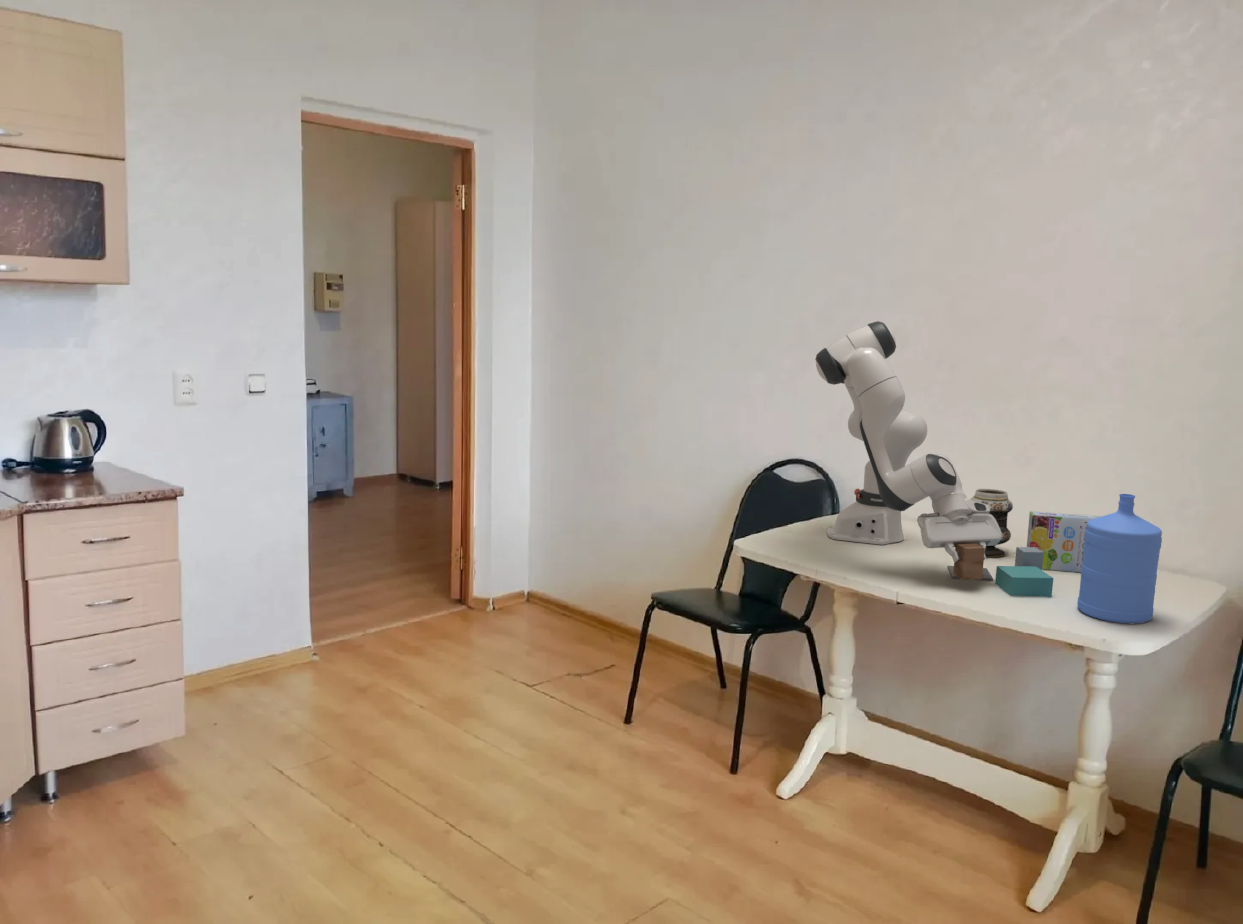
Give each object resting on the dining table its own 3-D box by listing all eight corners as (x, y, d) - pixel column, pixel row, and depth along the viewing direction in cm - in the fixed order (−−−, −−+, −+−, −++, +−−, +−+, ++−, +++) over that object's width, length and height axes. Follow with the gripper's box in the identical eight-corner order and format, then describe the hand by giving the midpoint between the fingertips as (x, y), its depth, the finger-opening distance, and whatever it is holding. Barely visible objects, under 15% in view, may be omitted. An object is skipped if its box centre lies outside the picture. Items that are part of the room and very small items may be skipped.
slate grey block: (1021, 582, 246) (1023, 552, 244) (1013, 576, 251) (1016, 546, 249) (1040, 582, 246) (1043, 552, 244) (1033, 577, 250) (1035, 547, 249)
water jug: (1131, 629, 211) (1145, 505, 207) (1063, 610, 224) (1075, 492, 219) (1165, 616, 221) (1179, 497, 216) (1098, 598, 233) (1110, 485, 228)
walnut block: (953, 574, 242) (955, 543, 240) (971, 573, 242) (973, 542, 241) (963, 580, 237) (965, 548, 235) (982, 579, 238) (984, 548, 236)
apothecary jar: (1002, 548, 279) (1007, 487, 276) (1014, 559, 267) (1020, 496, 264) (959, 546, 280) (964, 486, 277) (969, 557, 268) (975, 494, 265)
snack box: (1109, 570, 258) (1115, 515, 255) (1113, 576, 253) (1120, 520, 250) (1024, 563, 264) (1029, 509, 261) (1027, 568, 258) (1032, 514, 256)
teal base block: (1010, 597, 234) (1012, 577, 233) (995, 584, 244) (996, 565, 243) (1051, 597, 234) (1053, 578, 233) (1034, 585, 244) (1036, 566, 243)
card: (952, 578, 248) (952, 575, 248) (947, 567, 257) (947, 564, 257) (993, 581, 246) (993, 578, 246) (986, 570, 256) (986, 567, 255)
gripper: (920, 507, 241) (936, 555, 234) (994, 505, 245) (1013, 552, 237) (910, 520, 247) (926, 568, 239) (983, 517, 250) (1001, 564, 242)
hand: (970, 560), depth 238 cm, fingers closed on walnut block, 5 cm apart
